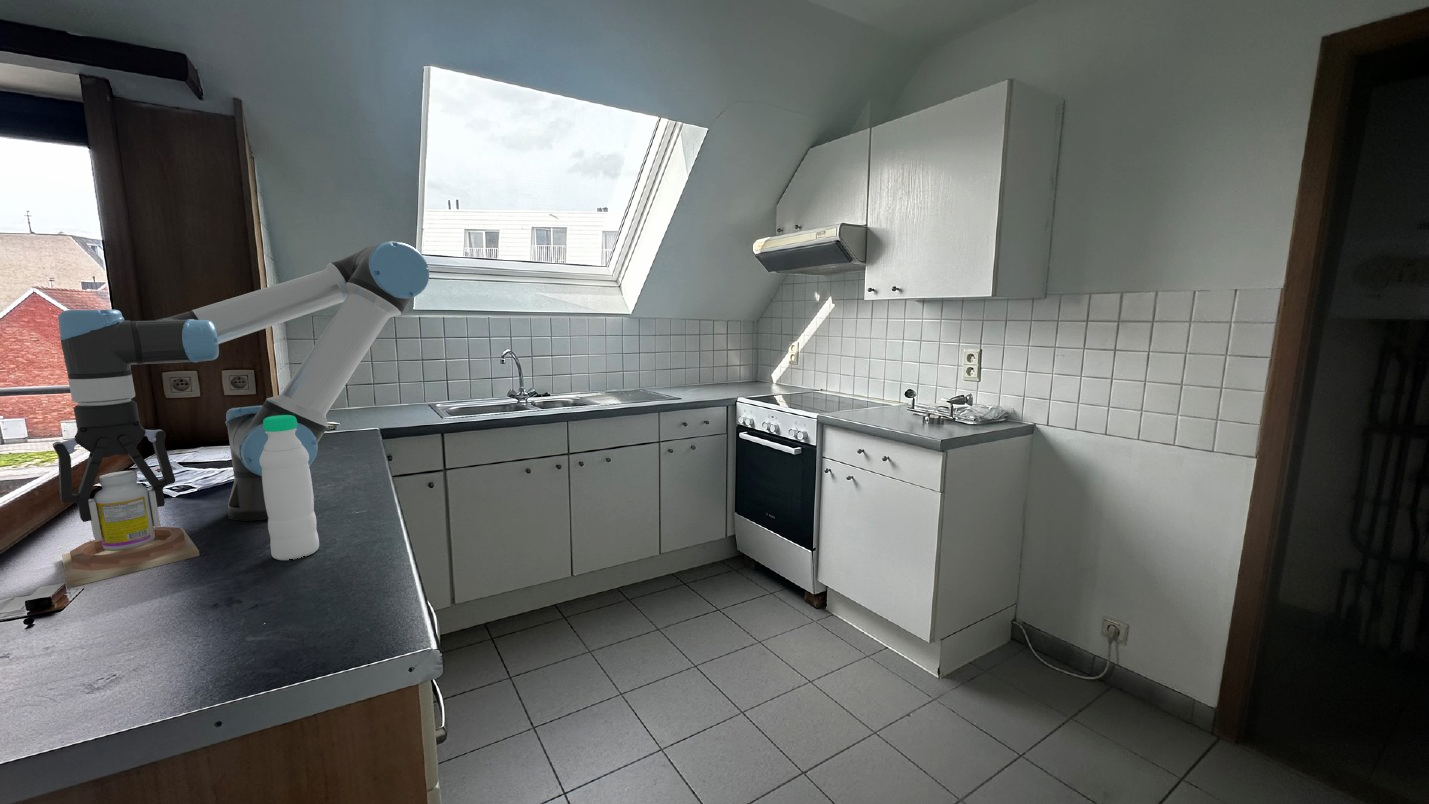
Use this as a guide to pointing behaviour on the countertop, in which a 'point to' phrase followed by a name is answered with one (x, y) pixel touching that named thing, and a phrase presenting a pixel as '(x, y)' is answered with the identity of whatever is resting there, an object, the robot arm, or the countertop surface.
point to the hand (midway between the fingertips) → (127, 531)
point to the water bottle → (288, 490)
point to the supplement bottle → (123, 512)
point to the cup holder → (126, 557)
